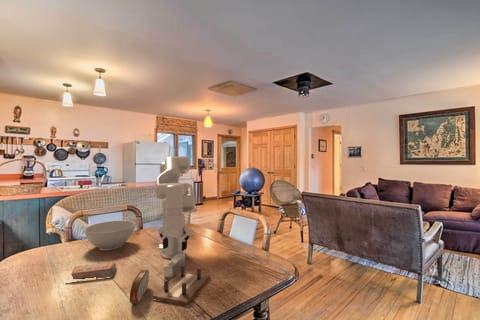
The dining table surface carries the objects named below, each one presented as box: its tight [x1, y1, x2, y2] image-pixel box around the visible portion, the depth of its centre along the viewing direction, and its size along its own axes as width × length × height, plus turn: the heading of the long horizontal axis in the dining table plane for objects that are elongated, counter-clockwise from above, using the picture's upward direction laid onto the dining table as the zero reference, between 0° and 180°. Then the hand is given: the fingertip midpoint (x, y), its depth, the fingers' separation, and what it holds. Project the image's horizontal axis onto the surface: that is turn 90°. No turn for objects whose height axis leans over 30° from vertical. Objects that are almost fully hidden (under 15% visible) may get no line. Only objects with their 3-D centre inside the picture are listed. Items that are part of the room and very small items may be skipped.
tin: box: [129, 269, 150, 304], centre depth 92 cm, size 15×3×8 cm, turn 5°
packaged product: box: [70, 261, 118, 279], centre depth 109 cm, size 18×5×10 cm
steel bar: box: [163, 253, 186, 279], centre depth 114 cm, size 4×14×5 cm, turn 170°
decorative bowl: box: [83, 219, 136, 251], centre depth 145 cm, size 27×27×12 cm
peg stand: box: [152, 265, 211, 307], centre depth 98 cm, size 14×20×6 cm
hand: (174, 248), depth 113 cm, fingers open, 9 cm apart
